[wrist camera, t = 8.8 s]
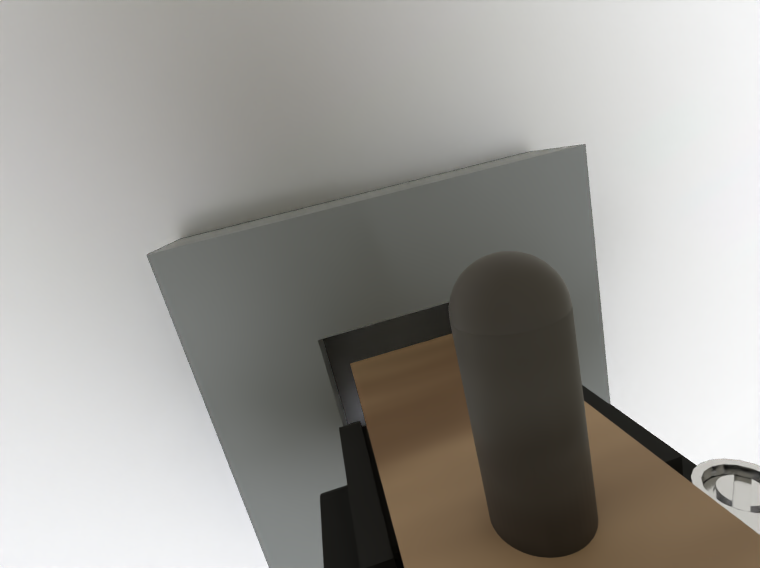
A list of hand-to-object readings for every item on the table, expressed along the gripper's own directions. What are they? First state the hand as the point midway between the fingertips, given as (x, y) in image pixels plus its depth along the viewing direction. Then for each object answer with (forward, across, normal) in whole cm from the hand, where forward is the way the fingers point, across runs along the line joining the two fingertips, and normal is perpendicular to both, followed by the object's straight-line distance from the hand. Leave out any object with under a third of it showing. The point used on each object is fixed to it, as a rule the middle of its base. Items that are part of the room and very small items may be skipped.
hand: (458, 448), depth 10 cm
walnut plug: (+2, 0, -1) cm, 3 cm away
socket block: (+5, 0, 0) cm, 5 cm away
